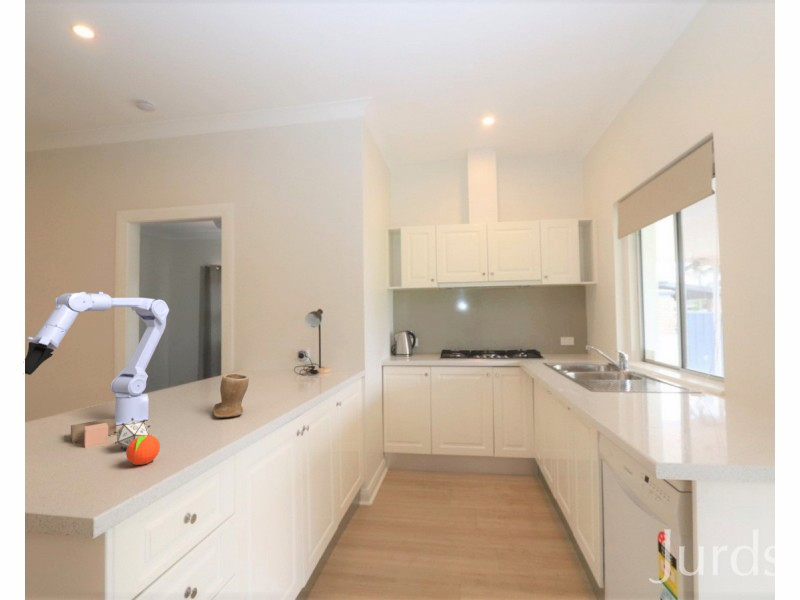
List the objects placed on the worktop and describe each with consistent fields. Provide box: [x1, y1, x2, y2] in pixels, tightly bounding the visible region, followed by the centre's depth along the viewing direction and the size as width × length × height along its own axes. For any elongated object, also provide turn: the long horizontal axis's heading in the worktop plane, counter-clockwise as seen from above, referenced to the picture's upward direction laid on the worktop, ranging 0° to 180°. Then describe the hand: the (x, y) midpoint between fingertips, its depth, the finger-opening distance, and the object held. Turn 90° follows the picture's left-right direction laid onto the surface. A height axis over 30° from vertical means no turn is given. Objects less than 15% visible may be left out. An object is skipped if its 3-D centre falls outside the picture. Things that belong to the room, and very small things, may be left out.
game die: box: [113, 418, 153, 450], centre depth 100 cm, size 9×8×10 cm
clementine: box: [126, 434, 161, 466], centre depth 90 cm, size 8×7×7 cm
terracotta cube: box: [83, 423, 109, 449], centre depth 105 cm, size 5×5×5 cm
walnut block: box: [70, 418, 117, 444], centre depth 111 cm, size 10×8×4 cm
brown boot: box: [213, 372, 250, 418], centre depth 135 cm, size 15×12×15 cm
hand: (25, 372), depth 101 cm, fingers open, 7 cm apart
